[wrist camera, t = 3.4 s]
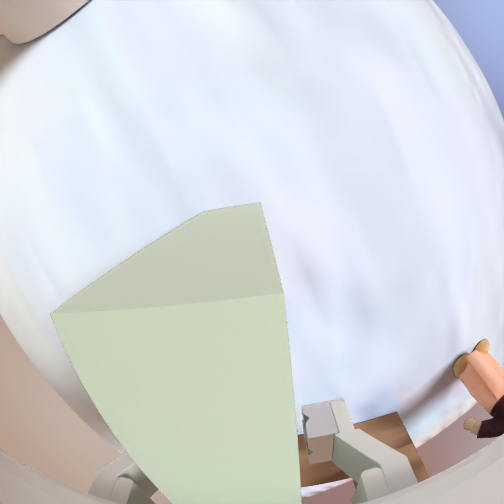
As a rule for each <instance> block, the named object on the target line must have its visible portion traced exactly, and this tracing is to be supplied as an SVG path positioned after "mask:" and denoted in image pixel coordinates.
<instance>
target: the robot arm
mask: <svg viewBox="0 0 504 504" xmlns="http://www.w3.org/2000/svg"><path fill="white" fill-rule="evenodd" d="M87 1H89V0H0V35H4V36H6V37H7V38H8V40H9V41H11V42H12V43H14V44H22V43H26V42H29V41H31V40H33V39H36V38H37V37H39V36H41V35H43V34H44V33H46V32H48V31H49V30H51V29H52V28H54V27H55V26H57V25H58V24H59V23H61V22H62V21H64V20H65V19H66V18H68V17H69V16H70V15H71V14H73V13H74V12H75V11H76V10H78V9H79V8H80V7H81V6H83V5H84V4H85V3H86V2H87ZM302 416H303V420H302V422H303V432H304V439H305V442H306V451H307V457H308V463H309V464H314V463H320V462H326V461H332V462H333V463H334V464H335V465H337V466H338V467H339V468H340V469H341V470H342V471H344V472H345V473H346V474H347V475H348V476H349V477H351V478H352V479H353V480H354V481H355V482H357V483H358V484H357V487H356V490H355V492H354V495H353V498H352V504H504V434H503V435H501V436H500V437H499V438H497V439H496V440H494V441H493V442H492V443H490V444H489V445H487V446H486V447H484V448H483V449H481V450H480V451H478V452H476V453H475V454H473V455H471V456H470V457H468V458H466V459H465V460H463V461H461V462H459V463H458V464H456V465H454V466H452V467H450V468H448V469H447V470H445V471H443V472H441V473H439V474H437V475H434V476H432V477H430V478H428V479H426V480H424V481H421V482H419V483H418V481H417V479H416V477H415V474H414V472H413V470H412V468H411V465H410V463H409V461H408V459H407V456H405V455H403V454H402V453H400V452H398V451H396V450H394V449H393V448H391V447H389V446H387V445H386V444H384V443H382V442H380V441H379V440H377V439H375V438H374V437H372V436H370V435H369V434H367V433H365V432H364V431H362V430H360V429H354V426H353V423H352V420H351V417H350V415H349V412H348V409H347V407H346V404H345V401H344V399H343V398H340V399H336V400H331V401H325V402H321V403H315V404H310V405H304V406H302ZM157 490H158V488H157V487H156V486H155V485H154V484H153V483H152V481H151V480H150V479H149V478H148V477H147V476H146V475H145V474H144V472H143V471H142V470H141V469H140V468H139V466H138V465H137V464H136V463H135V462H134V460H133V459H132V458H131V457H130V455H129V454H128V453H127V451H126V452H125V453H123V454H122V455H120V456H119V457H117V458H116V459H114V460H113V461H111V462H110V463H108V464H107V465H106V466H104V467H102V468H101V469H99V470H98V472H97V474H96V476H95V479H94V481H93V483H92V485H91V487H90V490H89V492H88V493H86V492H83V491H80V490H78V489H75V488H73V487H70V486H68V485H65V484H63V483H61V482H59V481H56V480H54V479H52V478H50V477H48V476H46V475H44V474H42V473H40V472H38V471H36V470H34V469H32V468H30V467H28V466H27V465H25V464H23V463H21V462H19V461H18V460H16V459H14V458H13V457H11V456H9V455H8V454H6V453H5V452H3V451H2V450H0V504H156V503H155V502H154V501H153V500H152V499H151V498H150V497H151V496H152V495H153V494H154V493H155V492H156V491H157Z"/></svg>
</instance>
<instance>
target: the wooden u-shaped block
mask: <svg viewBox="0 0 504 504" xmlns="http://www.w3.org/2000/svg"><path fill="white" fill-rule="evenodd" d="M353 426H354V429H360V430H362V431H364V432H365V433H367V434H369V435H370V436H372V437H374V438H375V439H377V440H379V441H380V442H382V443H384V444H386V445H387V446H389V447H391V448H393V449H394V450H396V451H398V452H400V453H402V454H403V455H405V456H407V459H408V461H409V463H410V465H411V468H412V470H413V472H414V474H415V477H416V479H417V481H418V483H419V482H421V481H424V480H426V479H428V478H430V477H429V475H428V473H427V471H426V469H425V466H424V464H423V462H422V460H421V458H420V456H419V454H418V452H417V450H416V448H415V446H414V444H413V442H412V440H411V438H410V436H409V434H408V432H407V430H406V428H405V426H404V425H403V423H402V421H401V419H400V417H399V415H398V413H397V412H395V413H391V414H388V415H385V416H382V417H379V418H375V419H372V420H368V421H364V422H361V423H357V424H353ZM297 437H298V451H299V466H300V483H301V487H307V486H313V485H319V484H324V483H329V482H334V481H339V480H343V479H347V478H351V477H349V476H348V475H347V474H346V473H345V472H344V471H342V470H341V469H340V468H339V467H338V466H337V465H335V464H334V463H333V462H332V461H326V462H320V463H314V464H309V463H308V457H307V451H306V442H305V439H304V434H303V435H297ZM353 481H354V480H353ZM357 484H358V483H357V482H355V481H354V485H355V489H356V487H357ZM301 502H302V497H301Z"/></svg>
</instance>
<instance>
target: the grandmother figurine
mask: <svg viewBox="0 0 504 504" xmlns="http://www.w3.org/2000/svg"><path fill="white" fill-rule="evenodd" d="M488 350H489V342H488V340H487V339H484V340H482V341H481V342H480V343H479V344H478V345H477V346H476V348H475V350H474V351H473V352H472V353H470V354H464V355H462V356H461V357H460V358H458V359H457V361H456V362H455V364H454V366H453V371H454V375H455V377H456V378H460V380H461V381H462V382H463V384H464V385H465V386H466V388H467V389H468V391H469V392H470V394H471V395H472V396H473V397H474V398H475V399H476V401H477V402H478V403H479V404H480V405H481V406H482V407H483V408H484V409H485V410H486V411H487V412H488V413H489V414H490V415H491V416H493V418H492V419H489V420H484V421H475V420H474V419H473V418H468V419H466V420H465V422H464V424H463V428H464V429H466V430H470V431H471V432H472V433H474V434H476V435H477V438H492V437H497V436H501V435H503V434H504V370H503V368H502V367H501V366H500V365H499V364H498V363H497V361H496V360H495V359H494V358H493V357H492V356H491V355H490V354H488Z"/></svg>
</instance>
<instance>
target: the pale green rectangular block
mask: <svg viewBox="0 0 504 504" xmlns="http://www.w3.org/2000/svg"><path fill="white" fill-rule="evenodd" d="M50 314H51V317H52V320H53V322H54V325H55V327H56V330H57V332H58V334H59V337H60V339H61V341H62V344H63V346H64V348H65V350H66V352H67V355H68V357H69V359H70V361H71V363H72V365H73V367H74V369H75V371H76V373H77V375H78V377H79V378H80V380H81V382H82V384H83V386H84V388H85V389H86V391H87V393H88V395H89V396H90V398H91V400H92V401H93V403H94V405H95V406H96V408H97V410H98V411H99V413H100V414H101V416H102V417H103V419H104V421H105V422H106V424H107V425H108V427H109V428H110V429H111V431H112V432H113V434H114V435H115V437H116V438H117V439H118V441H119V442H120V443H121V445H122V446H123V447H124V449H125V450H126V451H127V453H128V454H129V455H130V457H131V458H132V459H133V460H134V462H135V463H136V464H137V465H138V466H139V468H140V469H141V470H142V471H143V472H144V474H145V475H146V476H147V477H148V478H149V479H150V480H151V481H152V483H153V484H154V485H155V486H156V487H157V488H158V489H159V490H160V491H161V492H162V493H163V494H164V495H165V496H166V497H167V498H168V499H169V500H170V501H171V502H172V503H173V504H302V502H301V483H300V466H299V451H298V437H297V424H296V412H295V400H294V388H293V377H292V367H291V357H290V347H289V337H288V328H287V318H286V309H285V300H284V292H283V288H282V284H281V280H280V276H279V272H278V268H277V264H276V260H275V256H274V252H273V248H272V244H271V240H270V236H269V233H268V229H267V225H266V221H265V217H264V213H263V210H262V206H261V202H260V203H253V204H246V205H239V206H233V207H226V208H220V209H214V210H208V211H204V212H202V213H200V214H198V215H197V216H195V217H193V218H192V219H190V220H188V221H187V222H185V223H183V224H182V225H180V226H178V227H177V228H175V229H174V230H172V231H170V232H169V233H167V234H165V235H164V236H162V237H161V238H159V239H157V240H156V241H154V242H153V243H151V244H150V245H148V246H146V247H145V248H143V249H142V250H140V251H139V252H137V253H136V254H134V255H133V256H131V257H130V258H128V259H126V260H125V261H123V262H122V263H120V264H119V265H117V266H116V267H114V268H113V269H112V270H110V271H109V272H107V273H106V274H104V275H103V276H101V277H100V278H98V279H97V280H96V281H94V282H93V283H91V284H90V285H88V286H87V287H86V288H84V289H83V290H81V291H80V292H79V293H77V294H76V295H74V296H73V297H72V298H70V299H69V300H68V301H66V302H65V303H63V304H62V305H61V306H59V307H58V308H57V309H55V310H54V311H53V312H51V313H50Z"/></svg>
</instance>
